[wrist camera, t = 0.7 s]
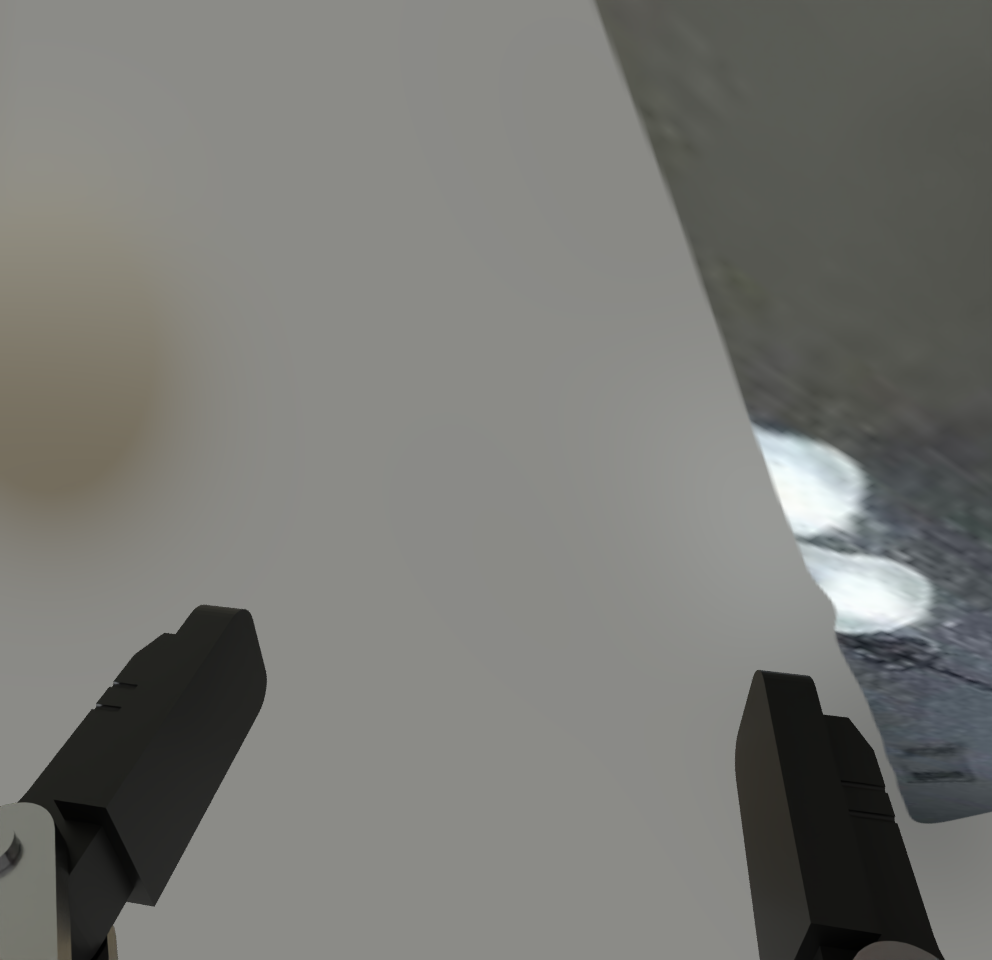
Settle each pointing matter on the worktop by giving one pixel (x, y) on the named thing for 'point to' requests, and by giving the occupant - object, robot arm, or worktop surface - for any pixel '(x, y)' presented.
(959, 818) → the worktop surface
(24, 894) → the robot arm
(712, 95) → the worktop surface
